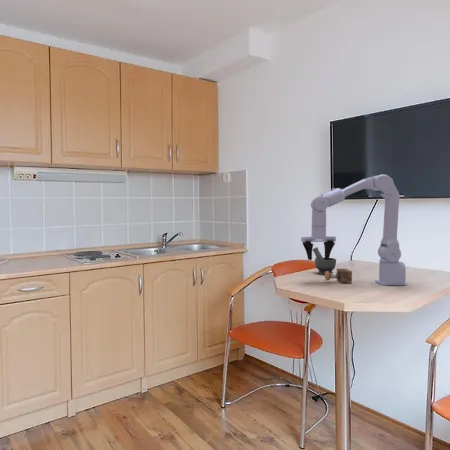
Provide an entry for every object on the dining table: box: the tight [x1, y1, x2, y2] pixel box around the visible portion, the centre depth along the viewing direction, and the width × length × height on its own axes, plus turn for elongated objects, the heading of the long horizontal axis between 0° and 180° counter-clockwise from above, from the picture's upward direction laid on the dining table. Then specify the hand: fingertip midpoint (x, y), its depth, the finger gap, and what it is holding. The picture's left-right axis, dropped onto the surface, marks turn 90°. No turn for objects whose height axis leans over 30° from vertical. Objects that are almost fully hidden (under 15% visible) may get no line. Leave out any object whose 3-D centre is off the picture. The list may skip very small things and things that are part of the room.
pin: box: [324, 271, 341, 281], centre depth 162 cm, size 6×4×4 cm, turn 91°
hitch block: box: [336, 268, 353, 285], centre depth 162 cm, size 4×7×5 cm, turn 1°
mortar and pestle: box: [312, 247, 337, 276], centre depth 181 cm, size 11×9×12 cm
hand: (318, 259), depth 160 cm, fingers open, 7 cm apart
